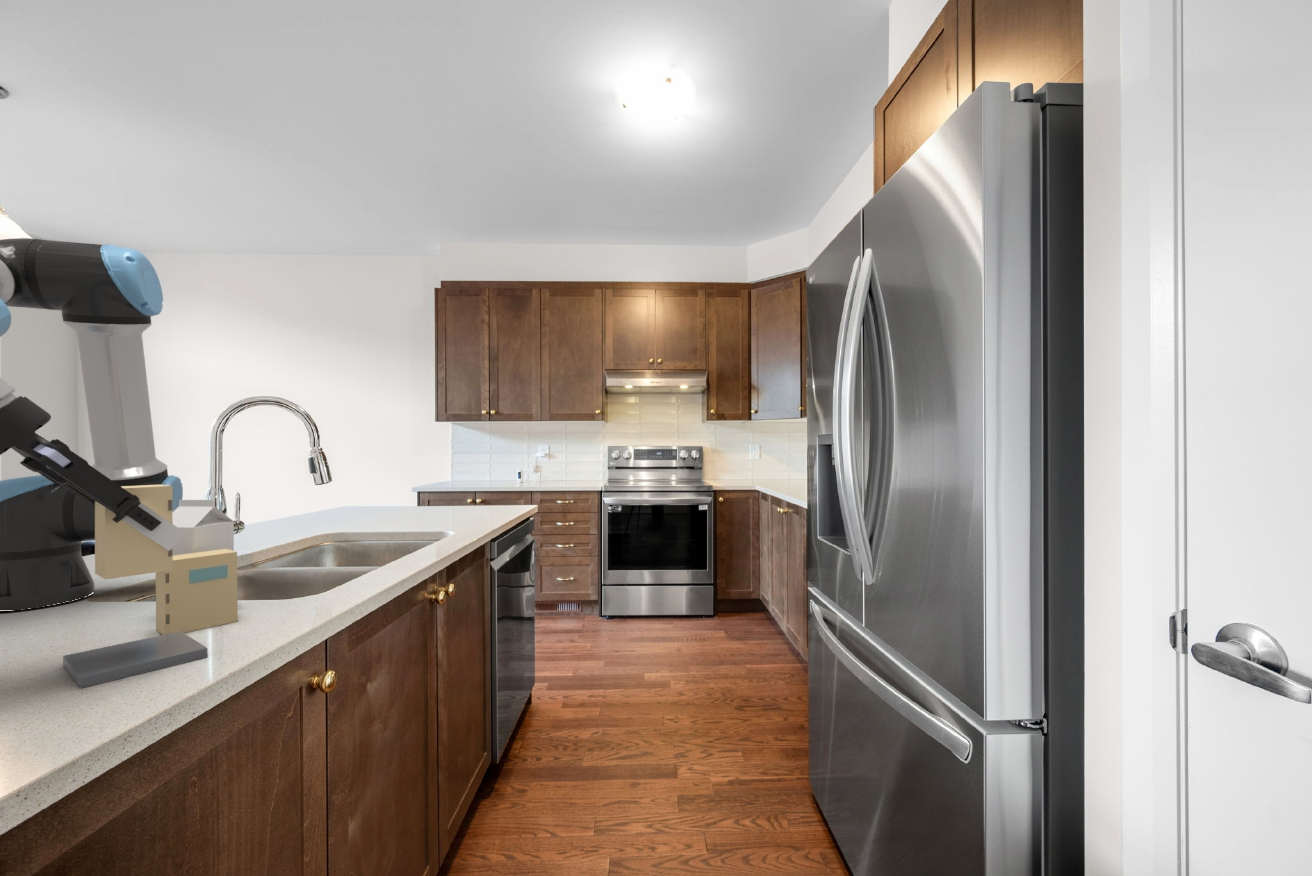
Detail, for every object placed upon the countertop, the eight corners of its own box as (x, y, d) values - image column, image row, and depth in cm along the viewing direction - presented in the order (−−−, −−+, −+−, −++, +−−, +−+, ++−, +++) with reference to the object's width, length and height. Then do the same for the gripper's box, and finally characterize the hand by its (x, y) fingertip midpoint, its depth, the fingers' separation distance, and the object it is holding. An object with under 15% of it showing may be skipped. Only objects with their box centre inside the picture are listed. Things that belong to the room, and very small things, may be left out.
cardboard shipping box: (156, 630, 89) (155, 557, 89) (226, 615, 96) (226, 548, 96) (165, 636, 86) (164, 561, 86) (237, 621, 93) (237, 551, 93)
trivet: (63, 665, 75) (63, 655, 75) (180, 639, 84) (180, 631, 84) (80, 688, 67) (80, 677, 67) (207, 657, 77) (207, 648, 77)
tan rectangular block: (95, 573, 75) (94, 487, 75) (159, 564, 80) (159, 484, 80) (105, 579, 71) (105, 489, 71) (172, 570, 76) (172, 485, 77)
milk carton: (194, 621, 93) (193, 502, 93) (158, 619, 94) (157, 502, 95) (234, 609, 100) (233, 497, 100) (200, 607, 101) (199, 497, 101)
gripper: (-56, 440, 70) (127, 555, 82) (-47, 436, 58) (164, 571, 71) (10, 398, 74) (174, 514, 87) (30, 386, 62) (217, 522, 75)
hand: (169, 539), depth 79 cm, fingers closed on tan rectangular block, 6 cm apart
